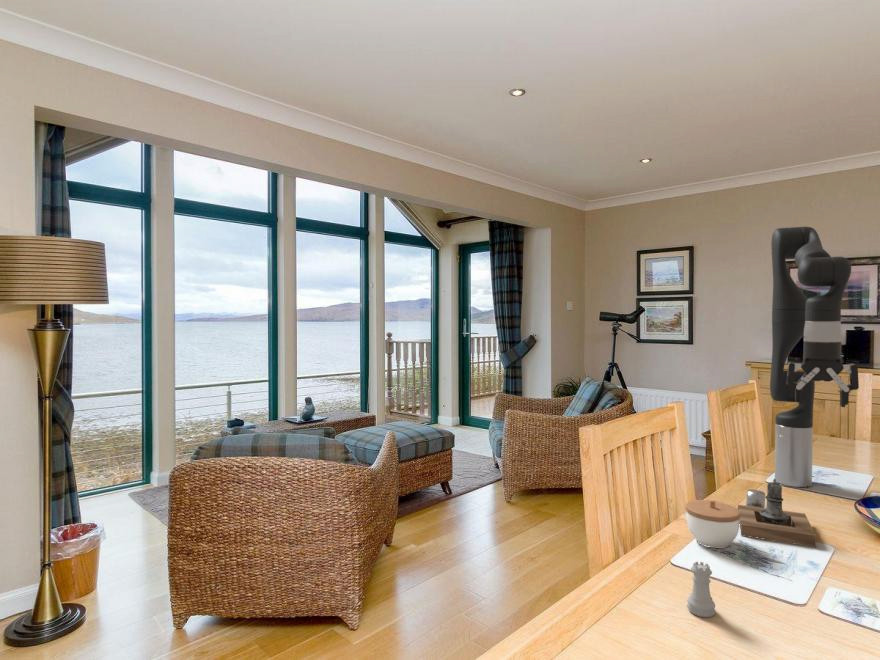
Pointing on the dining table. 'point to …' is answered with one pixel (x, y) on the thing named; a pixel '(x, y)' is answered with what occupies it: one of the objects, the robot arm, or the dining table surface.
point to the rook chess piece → (701, 592)
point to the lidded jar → (712, 522)
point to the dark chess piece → (774, 505)
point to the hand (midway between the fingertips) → (820, 405)
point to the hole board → (776, 527)
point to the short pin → (755, 498)
